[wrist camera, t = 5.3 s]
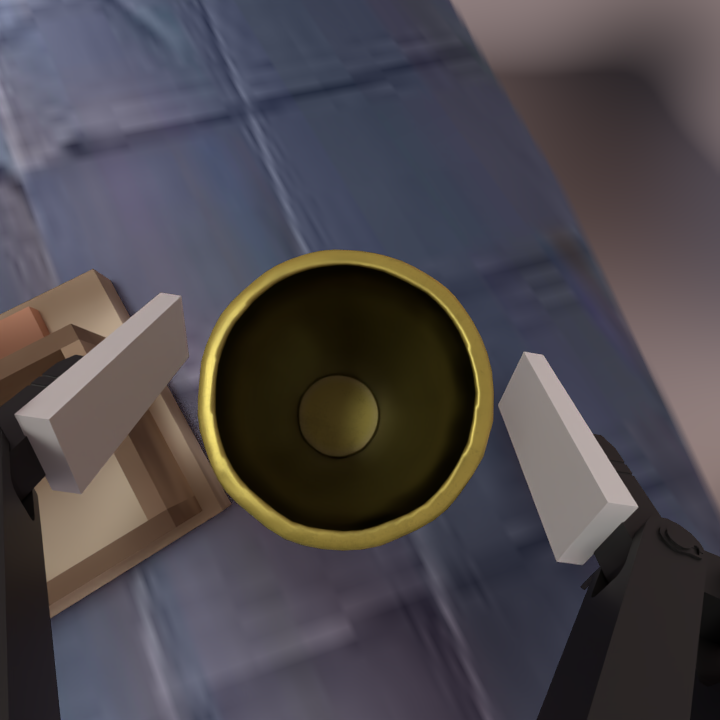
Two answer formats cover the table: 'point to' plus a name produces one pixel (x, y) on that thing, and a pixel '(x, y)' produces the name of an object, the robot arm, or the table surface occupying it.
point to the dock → (126, 465)
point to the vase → (345, 399)
